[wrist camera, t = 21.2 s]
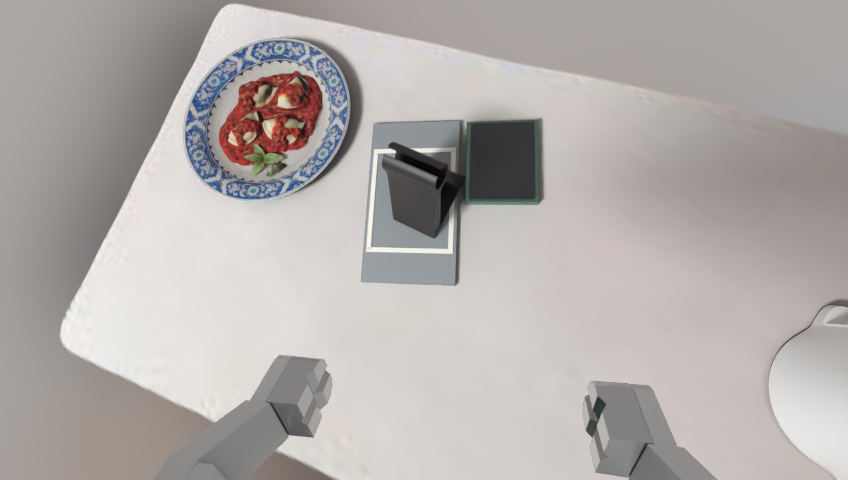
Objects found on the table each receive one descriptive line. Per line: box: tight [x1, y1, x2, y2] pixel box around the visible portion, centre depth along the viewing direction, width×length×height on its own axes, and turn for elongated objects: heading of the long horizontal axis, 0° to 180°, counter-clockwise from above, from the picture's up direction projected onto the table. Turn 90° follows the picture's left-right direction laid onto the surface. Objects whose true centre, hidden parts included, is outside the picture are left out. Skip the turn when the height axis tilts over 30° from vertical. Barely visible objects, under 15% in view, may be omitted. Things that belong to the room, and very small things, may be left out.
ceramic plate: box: [183, 38, 350, 202], centre depth 51 cm, size 26×26×3 cm
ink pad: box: [465, 120, 539, 205], centre depth 45 cm, size 9×11×2 cm
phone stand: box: [382, 142, 465, 239], centre depth 39 cm, size 9×6×12 cm, turn 153°
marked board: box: [361, 121, 460, 286], centre depth 46 cm, size 12×22×1 cm, turn 178°
